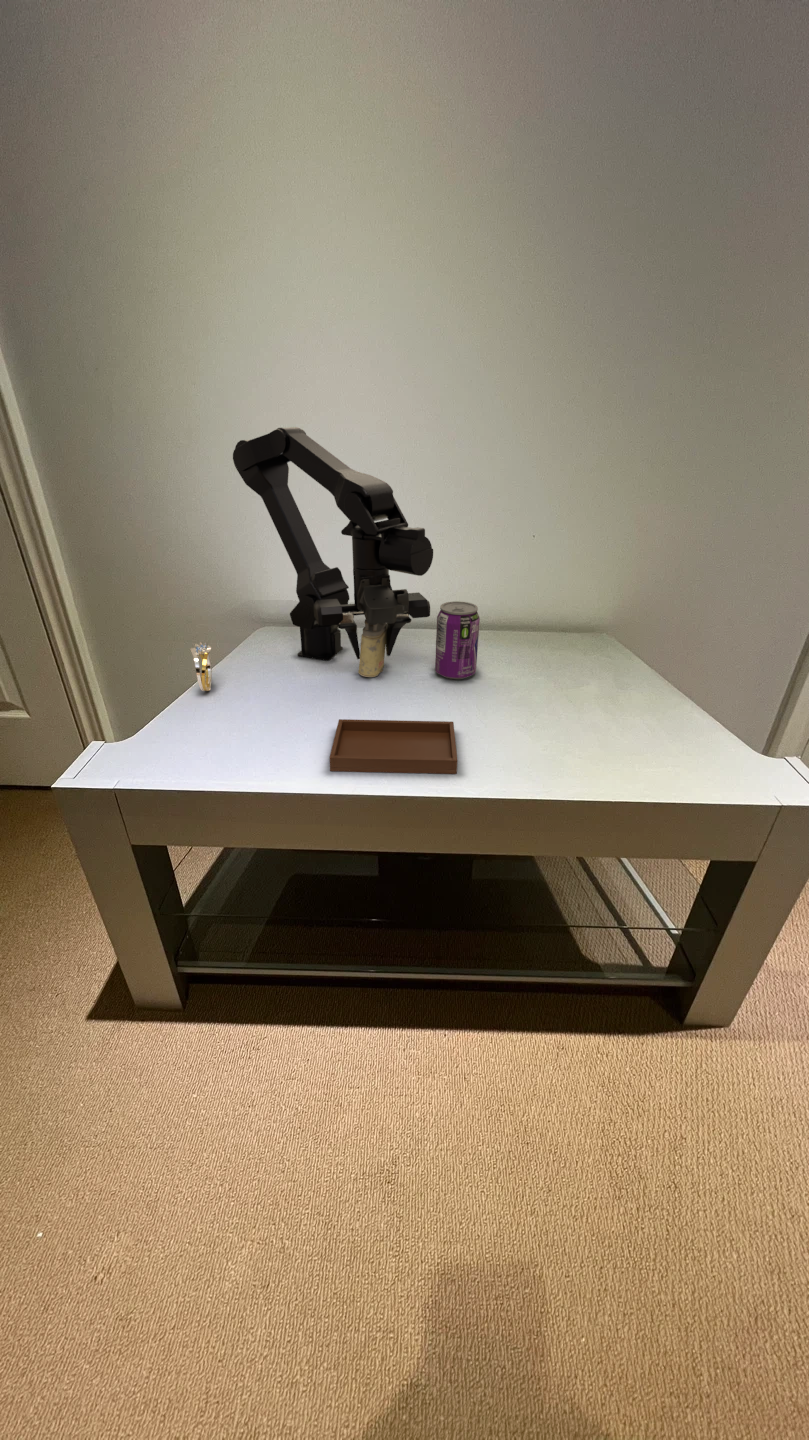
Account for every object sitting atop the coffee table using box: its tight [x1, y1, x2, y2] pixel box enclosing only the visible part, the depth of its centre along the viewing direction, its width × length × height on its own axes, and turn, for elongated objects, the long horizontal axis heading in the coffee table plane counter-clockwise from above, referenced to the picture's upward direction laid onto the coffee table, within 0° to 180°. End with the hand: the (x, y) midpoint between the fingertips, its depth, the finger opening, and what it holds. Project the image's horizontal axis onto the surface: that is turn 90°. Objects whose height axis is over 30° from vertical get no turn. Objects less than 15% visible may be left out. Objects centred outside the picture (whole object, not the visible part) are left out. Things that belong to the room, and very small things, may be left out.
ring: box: [190, 641, 213, 692], centre depth 94 cm, size 7×3×8 cm, turn 5°
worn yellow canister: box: [357, 618, 387, 678], centre depth 101 cm, size 7×4×10 cm, turn 167°
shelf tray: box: [329, 718, 458, 775], centre depth 80 cm, size 16×10×2 cm, turn 89°
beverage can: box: [434, 600, 481, 680], centre depth 100 cm, size 7×7×12 cm
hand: (373, 656), depth 102 cm, fingers closed on worn yellow canister, 5 cm apart
